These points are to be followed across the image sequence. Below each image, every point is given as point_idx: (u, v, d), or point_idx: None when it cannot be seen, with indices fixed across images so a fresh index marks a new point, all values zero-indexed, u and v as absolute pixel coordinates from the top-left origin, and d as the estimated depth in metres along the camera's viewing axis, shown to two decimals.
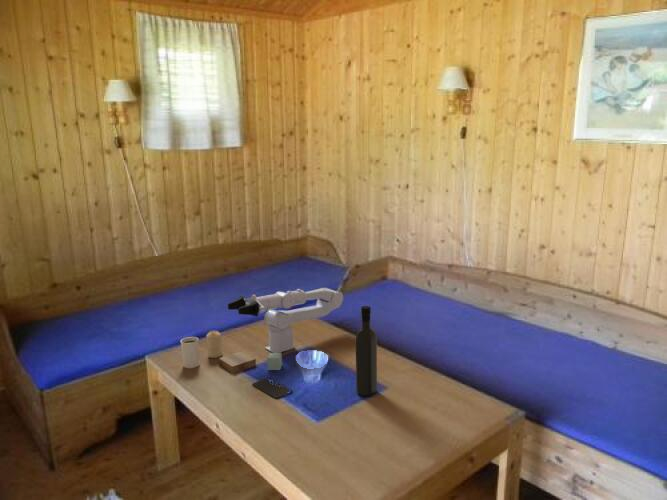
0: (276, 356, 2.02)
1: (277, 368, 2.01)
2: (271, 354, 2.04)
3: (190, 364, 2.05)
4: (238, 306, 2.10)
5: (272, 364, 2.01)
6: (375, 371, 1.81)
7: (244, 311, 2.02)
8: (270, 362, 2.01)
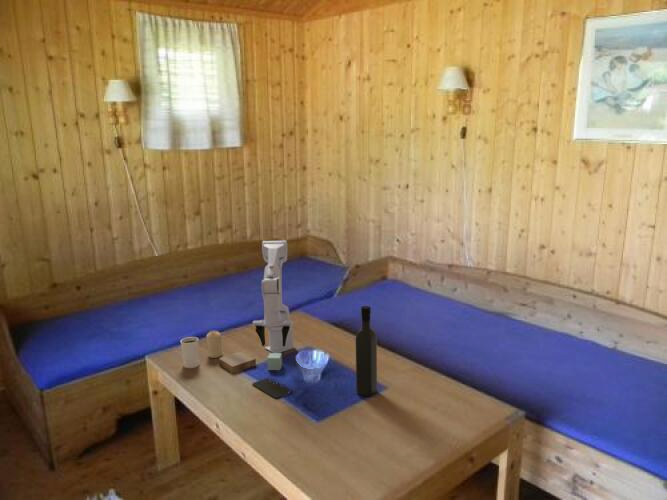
0: (276, 356, 2.02)
1: (277, 368, 2.01)
2: (271, 354, 2.04)
3: (190, 364, 2.05)
4: (263, 333, 2.02)
5: (272, 364, 2.01)
6: (375, 371, 1.81)
7: (285, 340, 2.01)
8: (270, 362, 2.01)
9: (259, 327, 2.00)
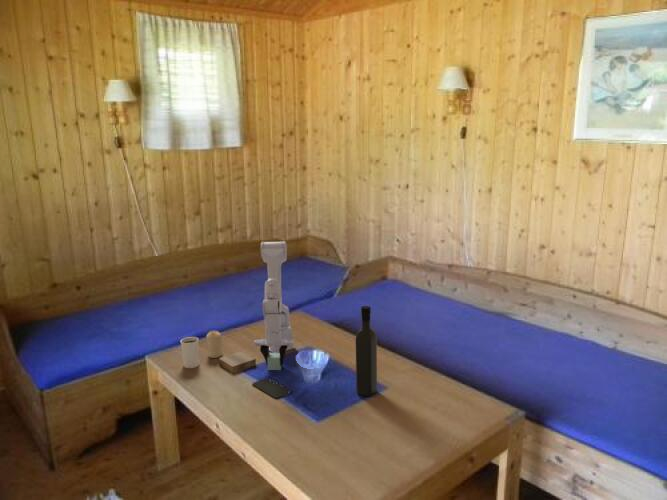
0: (276, 355, 2.02)
1: (277, 368, 2.01)
2: (271, 354, 2.04)
3: (190, 364, 2.05)
4: (268, 352, 2.03)
5: (272, 364, 2.01)
6: (375, 371, 1.81)
7: (282, 359, 2.03)
8: (270, 362, 2.01)
9: (264, 347, 2.01)
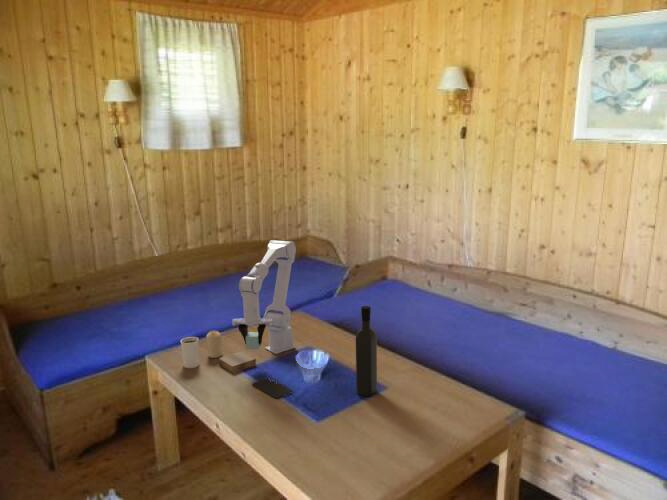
0: (254, 334, 2.02)
1: (255, 347, 2.01)
2: (250, 333, 2.04)
3: (190, 364, 2.05)
4: (246, 331, 2.03)
5: (251, 343, 2.01)
6: (375, 371, 1.81)
7: (261, 338, 2.03)
8: (249, 340, 2.01)
9: (242, 325, 2.01)
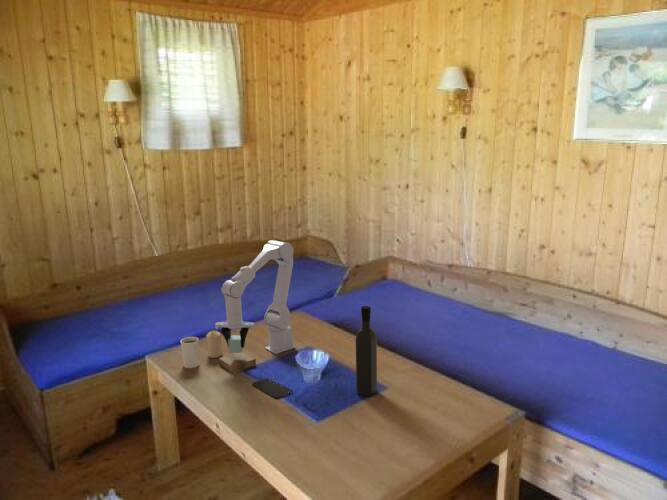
0: (237, 338, 2.04)
1: (238, 350, 2.03)
2: (232, 336, 2.06)
3: (190, 364, 2.05)
4: (229, 335, 2.05)
5: (233, 346, 2.03)
6: (375, 371, 1.81)
7: (244, 341, 2.05)
8: (231, 344, 2.03)
9: (225, 329, 2.03)
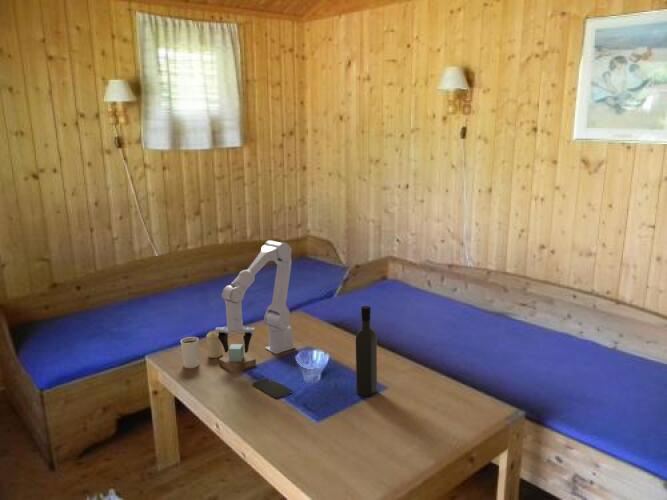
0: (237, 346, 2.05)
1: (238, 359, 2.04)
2: (232, 345, 2.06)
3: (190, 364, 2.05)
4: (226, 339, 2.06)
5: (233, 355, 2.04)
6: (375, 371, 1.81)
7: (247, 346, 2.05)
8: (232, 353, 2.04)
9: (222, 334, 2.04)
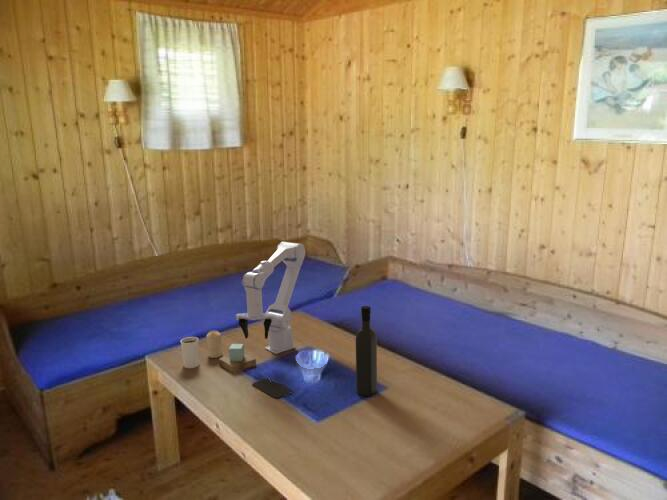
0: (238, 346, 2.05)
1: (239, 358, 2.04)
2: (233, 345, 2.07)
3: (190, 364, 2.05)
4: (246, 326, 2.08)
5: (234, 355, 2.04)
6: (375, 371, 1.81)
7: (267, 332, 2.08)
8: (232, 352, 2.04)
9: (242, 320, 2.06)
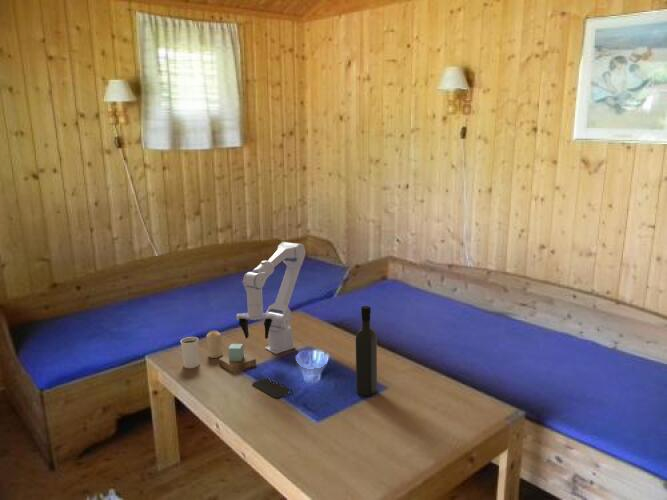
0: (237, 346, 2.05)
1: (238, 358, 2.04)
2: (232, 345, 2.07)
3: (190, 364, 2.05)
4: (247, 326, 2.08)
5: (233, 354, 2.04)
6: (375, 371, 1.81)
7: (267, 332, 2.08)
8: (231, 352, 2.04)
9: (242, 320, 2.06)
